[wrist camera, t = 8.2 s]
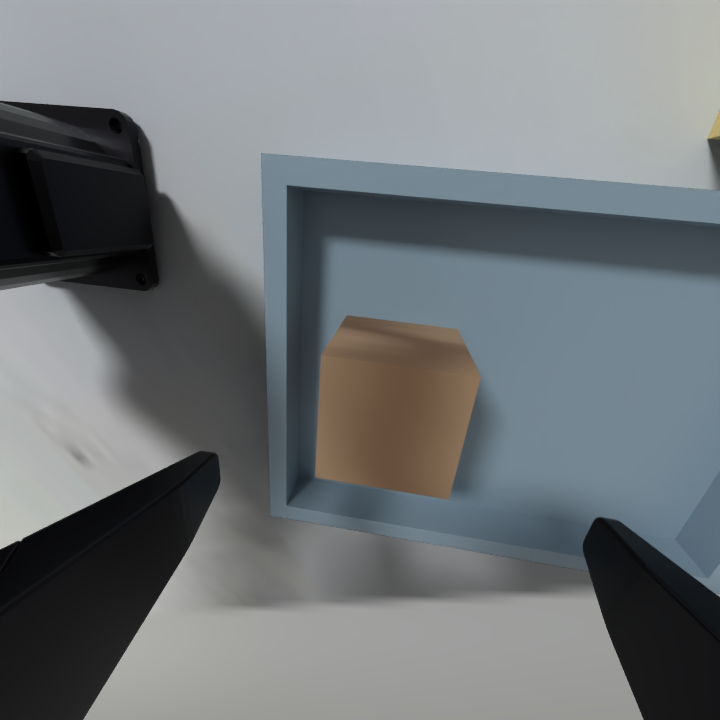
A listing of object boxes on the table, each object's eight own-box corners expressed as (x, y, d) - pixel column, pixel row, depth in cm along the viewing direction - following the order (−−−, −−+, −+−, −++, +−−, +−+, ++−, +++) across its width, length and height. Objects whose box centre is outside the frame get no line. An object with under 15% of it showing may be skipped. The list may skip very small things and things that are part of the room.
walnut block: (339, 409, 15) (314, 477, 11) (346, 315, 14) (321, 355, 9) (437, 423, 15) (448, 499, 11) (457, 328, 13) (481, 377, 9)
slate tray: (287, 478, 18) (269, 515, 16) (288, 166, 12) (261, 153, 10) (675, 543, 17) (719, 594, 14) (890, 216, 11) (1021, 215, 8)
